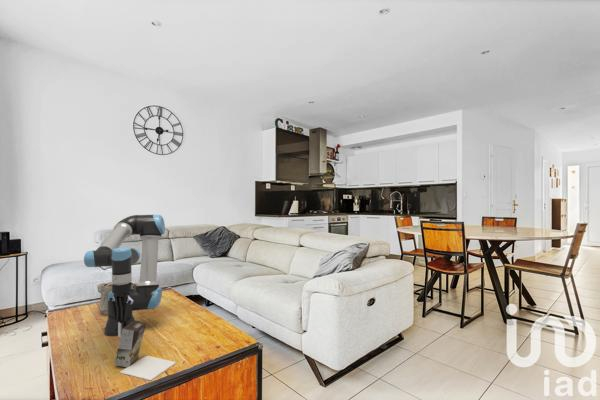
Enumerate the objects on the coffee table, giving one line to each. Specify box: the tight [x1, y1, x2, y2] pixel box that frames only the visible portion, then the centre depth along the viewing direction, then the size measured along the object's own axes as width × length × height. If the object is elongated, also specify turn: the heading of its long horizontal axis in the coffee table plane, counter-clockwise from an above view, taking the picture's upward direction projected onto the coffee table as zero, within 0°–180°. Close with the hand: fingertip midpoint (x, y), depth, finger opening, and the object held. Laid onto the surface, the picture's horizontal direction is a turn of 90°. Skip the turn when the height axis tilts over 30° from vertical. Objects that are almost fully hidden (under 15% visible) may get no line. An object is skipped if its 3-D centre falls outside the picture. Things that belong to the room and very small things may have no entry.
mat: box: [119, 355, 177, 382], centre depth 129 cm, size 17×14×1 cm
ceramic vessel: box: [96, 281, 138, 316], centre depth 198 cm, size 23×24×25 cm
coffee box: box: [113, 320, 147, 368], centre depth 134 cm, size 9×6×16 cm
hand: (122, 335), depth 134 cm, fingers closed
